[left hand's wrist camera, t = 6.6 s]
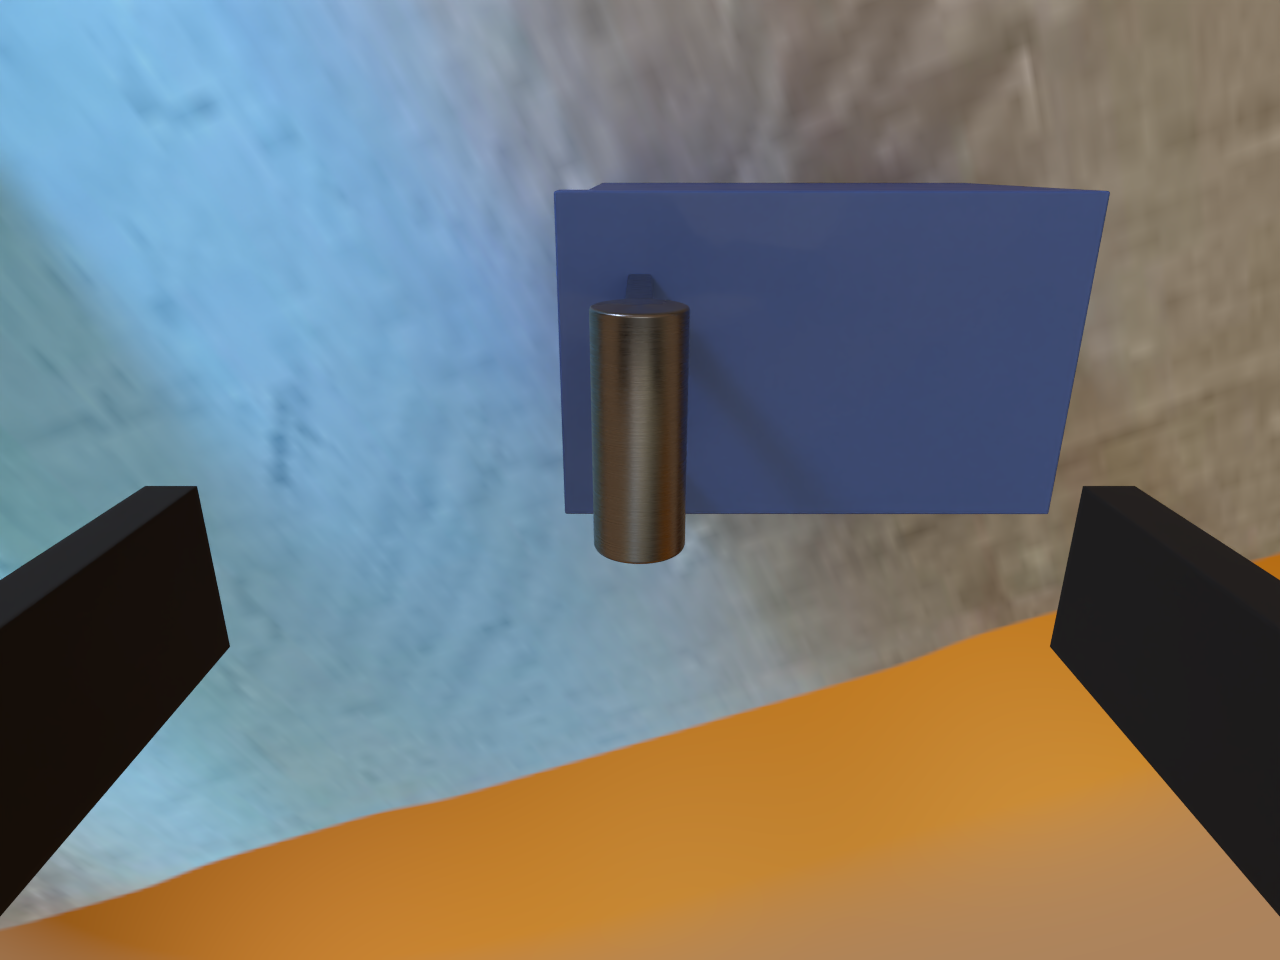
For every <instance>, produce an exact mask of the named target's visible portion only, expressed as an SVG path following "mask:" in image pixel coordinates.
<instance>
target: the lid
mask: <svg viewBox="0 0 1280 960" xmlns="http://www.w3.org/2000/svg"><path fill="white" fill-rule="evenodd" d="M1109 195H1110V192H1109V191H1097V190H558V191H555V192H554V208H555V236H556V265H557V293H558V322H559V351H560V379H561V408H562V436H563V465H564V494H565V513H567V514H593V515H594V545H595V548H596V549H597V551H598V552H599V553H600V554H601V555H603V556H604V557H606V558H609V559H611V560H614V561H618V562H623V563H631V564H648V563H656V562H661V561H665V560H668V559H670V558H672V557H674V556H676V555H678V554H679V553H680V552H681V551H682V549H683V547H684V545H685V514H1048V512H1049V507H1050V501H1051V496H1052V491H1053V486H1054V481H1055V476H1056V470H1057V465H1058V460H1059V455H1060V450H1061V444H1062V439H1063V434H1064V429H1065V424H1066V418H1067V413H1068V408H1069V403H1070V398H1071V392H1072V387H1073V382H1074V377H1075V372H1076V366H1077V361H1078V356H1079V351H1080V346H1081V340H1082V335H1083V330H1084V325H1085V320H1086V314H1087V309H1088V304H1089V299H1090V294H1091V288H1092V283H1093V278H1094V273H1095V268H1096V262H1097V257H1098V252H1099V247H1100V242H1101V236H1102V231H1103V226H1104V221H1105V216H1106V210H1107V205H1108V200H1109Z"/></svg>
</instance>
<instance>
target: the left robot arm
mask: <svg viewBox="0 0 1280 960" xmlns="http://www.w3.org/2000/svg"><path fill="white" fill-rule="evenodd" d="M229 647H230V644H229V639H228V634H227V630H226V625H225V620H224V615H223V610H222V605H221V601H220V596H219V591H218V586H217V581H216V576H215V571H214V567H213V562H212V557H211V552H210V547H209V542H208V537H207V533H206V528H205V523H204V518H203V513H202V508H201V503H200V499H199V494H198V489H197V486H145V487H143V488H142V489H140V490H139V491H137V492H135V493H134V494H132V495H131V496H129V497H128V498H126V499H125V500H123V501H122V502H120V503H119V504H117V505H115V506H114V507H112V508H111V509H109V510H108V511H106V512H105V513H103V514H102V515H100V516H98V517H97V518H95V519H94V520H92V521H91V522H89V523H88V524H86V525H85V526H83V527H82V528H80V529H78V530H77V531H75V532H74V533H72V534H71V535H69V536H68V537H66V538H65V539H63V540H61V541H60V542H58V543H57V544H55V545H54V546H52V547H51V548H49V549H48V550H46V551H45V552H43V553H41V554H40V555H38V556H37V557H35V558H34V559H32V560H31V561H29V562H28V563H26V564H24V565H23V566H21V567H20V568H18V569H17V570H15V571H14V572H12V573H11V574H9V575H8V576H6V577H4V578H3V579H1V580H0V916H1V915H2V914H3V913H4V911H5V910H6V909H7V908H8V907H9V906H10V904H11V903H12V902H13V901H14V900H15V898H16V897H17V896H18V895H19V894H20V893H21V891H22V890H23V889H24V888H25V887H26V886H27V884H28V883H29V882H30V881H31V880H32V879H33V877H34V876H35V875H36V874H37V873H38V871H39V870H40V869H41V868H42V867H43V866H44V864H45V863H46V862H47V861H48V860H49V859H50V857H51V856H52V855H53V854H54V853H55V852H56V850H57V849H58V848H59V847H60V846H61V844H62V843H63V842H64V841H65V840H66V839H67V837H68V836H69V835H70V834H71V833H72V832H73V830H74V829H75V828H76V827H77V826H78V825H79V823H80V822H81V821H82V820H83V819H84V817H85V816H86V815H87V814H88V813H89V812H90V810H91V809H92V808H93V807H94V806H95V805H96V803H97V802H98V801H99V800H100V799H101V797H102V796H103V795H104V794H105V793H106V792H107V790H108V789H109V788H110V787H111V786H112V785H113V783H114V782H115V781H116V780H117V779H118V778H119V776H120V775H121V774H122V773H123V772H124V770H125V769H126V768H127V767H128V766H129V765H130V763H131V762H132V761H133V760H134V759H135V758H136V756H137V755H138V754H139V753H140V752H141V751H142V749H143V748H144V747H145V746H146V745H147V743H148V742H149V741H150V740H151V739H152V738H153V736H154V735H155V734H156V733H157V732H158V731H159V729H160V728H161V727H162V726H163V725H164V724H165V722H166V721H167V720H168V719H169V718H170V716H171V715H172V714H173V713H174V712H175V711H176V709H177V708H178V707H179V706H180V705H181V704H182V702H183V701H184V700H185V699H186V698H187V697H188V695H189V694H190V693H191V692H192V691H193V689H194V688H195V687H196V686H197V685H198V684H199V682H200V681H201V680H202V679H203V678H204V677H205V675H206V674H207V673H208V672H209V671H210V669H211V668H212V667H213V666H214V665H215V664H216V662H217V661H218V660H219V659H220V658H221V657H222V655H223V654H224V653H225V652H226V651H227V650H228V648H229ZM1050 647H1051V648H1052V649H1053V651H1054V652H1055V653H1056V654H1057V655H1058V657H1059V658H1060V659H1061V660H1062V661H1063V662H1064V664H1065V665H1066V666H1067V667H1068V668H1069V669H1070V671H1071V672H1072V673H1073V674H1074V675H1075V676H1076V678H1077V679H1078V680H1079V681H1080V682H1081V684H1082V685H1083V686H1084V687H1085V688H1086V689H1087V691H1088V692H1089V693H1090V694H1091V695H1092V696H1093V698H1094V699H1095V700H1096V701H1097V702H1098V704H1099V705H1100V706H1101V707H1102V708H1103V709H1104V711H1105V712H1106V713H1107V714H1108V715H1109V716H1110V718H1111V719H1112V720H1113V721H1114V722H1115V724H1116V725H1117V726H1118V727H1119V728H1120V729H1121V731H1122V732H1123V733H1124V734H1125V735H1126V736H1127V738H1128V739H1129V740H1130V741H1131V742H1132V743H1133V745H1134V746H1135V747H1136V748H1137V749H1138V750H1139V752H1140V753H1141V754H1142V755H1143V756H1144V758H1145V759H1146V760H1147V761H1148V762H1149V763H1150V765H1151V766H1152V767H1153V768H1154V769H1155V770H1156V772H1157V773H1158V774H1159V775H1160V776H1161V777H1162V779H1163V780H1164V781H1165V782H1166V783H1167V785H1168V786H1169V787H1170V788H1171V789H1172V790H1173V792H1174V793H1175V794H1176V795H1177V796H1178V797H1179V799H1180V800H1181V801H1182V802H1183V803H1184V805H1185V806H1186V807H1187V808H1188V809H1189V810H1190V812H1191V813H1192V814H1193V815H1194V816H1195V817H1196V819H1197V820H1198V821H1199V822H1200V823H1201V824H1202V826H1203V827H1204V828H1205V829H1206V830H1207V832H1208V833H1209V834H1210V835H1211V836H1212V837H1213V839H1214V840H1215V841H1216V842H1217V843H1218V844H1219V846H1220V847H1221V848H1222V849H1223V850H1224V851H1225V853H1226V854H1227V855H1228V856H1229V857H1230V859H1231V860H1232V861H1233V862H1234V863H1235V864H1236V866H1237V867H1238V868H1239V869H1240V870H1241V871H1242V873H1243V874H1244V875H1245V876H1246V877H1247V878H1248V880H1249V881H1250V882H1251V883H1252V884H1253V886H1254V887H1255V888H1256V889H1257V890H1258V891H1259V893H1260V894H1261V895H1262V896H1263V897H1264V898H1265V900H1266V901H1267V902H1268V903H1269V904H1270V905H1271V907H1272V908H1273V909H1274V910H1275V911H1276V913H1277V914H1278V915H1279V916H1280V580H1279V579H1277V578H1275V577H1274V576H1272V575H1271V574H1269V573H1268V572H1266V571H1265V570H1263V569H1262V568H1260V567H1259V566H1257V565H1256V564H1254V563H1252V562H1251V561H1249V560H1248V559H1246V558H1245V557H1243V556H1242V555H1240V554H1239V553H1237V552H1235V551H1234V550H1232V549H1231V548H1229V547H1228V546H1226V545H1225V544H1223V543H1222V542H1220V541H1219V540H1217V539H1215V538H1214V537H1212V536H1211V535H1209V534H1208V533H1206V532H1205V531H1203V530H1202V529H1200V528H1198V527H1197V526H1195V525H1194V524H1192V523H1191V522H1189V521H1188V520H1186V519H1185V518H1183V517H1182V516H1180V515H1178V514H1177V513H1175V512H1174V511H1172V510H1171V509H1169V508H1168V507H1166V506H1165V505H1163V504H1161V503H1160V502H1158V501H1157V500H1155V499H1154V498H1152V497H1151V496H1149V495H1148V494H1146V493H1145V492H1143V491H1141V490H1140V489H1138V488H1137V487H1135V486H1083V489H1082V494H1081V499H1080V503H1079V508H1078V513H1077V518H1076V523H1075V528H1074V533H1073V537H1072V542H1071V547H1070V552H1069V557H1068V562H1067V567H1066V571H1065V576H1064V581H1063V586H1062V591H1061V596H1060V600H1059V605H1058V610H1057V615H1056V620H1055V625H1054V630H1053V635H1052V639H1051V644H1050Z"/></svg>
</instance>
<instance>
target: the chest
mask: <svg viewBox="0 0 1280 960" xmlns="http://www.w3.org/2000/svg"><path fill="white" fill-rule="evenodd" d="M589 190H1078V189H1060V188H1042V187H1025V186H1007V185H989V184H971V183H602V184H600V185H598V186H596V187H594V188H592V189H589Z"/></svg>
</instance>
